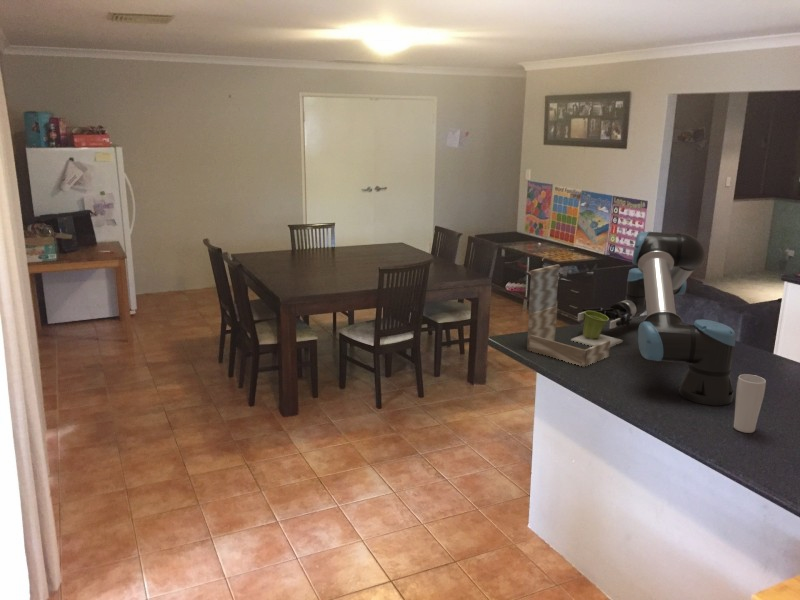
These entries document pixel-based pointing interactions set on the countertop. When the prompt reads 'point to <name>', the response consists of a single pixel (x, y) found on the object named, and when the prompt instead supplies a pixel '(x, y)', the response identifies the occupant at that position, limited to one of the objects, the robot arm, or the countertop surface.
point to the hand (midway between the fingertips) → (594, 321)
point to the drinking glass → (748, 402)
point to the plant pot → (594, 324)
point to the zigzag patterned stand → (554, 322)
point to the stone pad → (596, 340)
